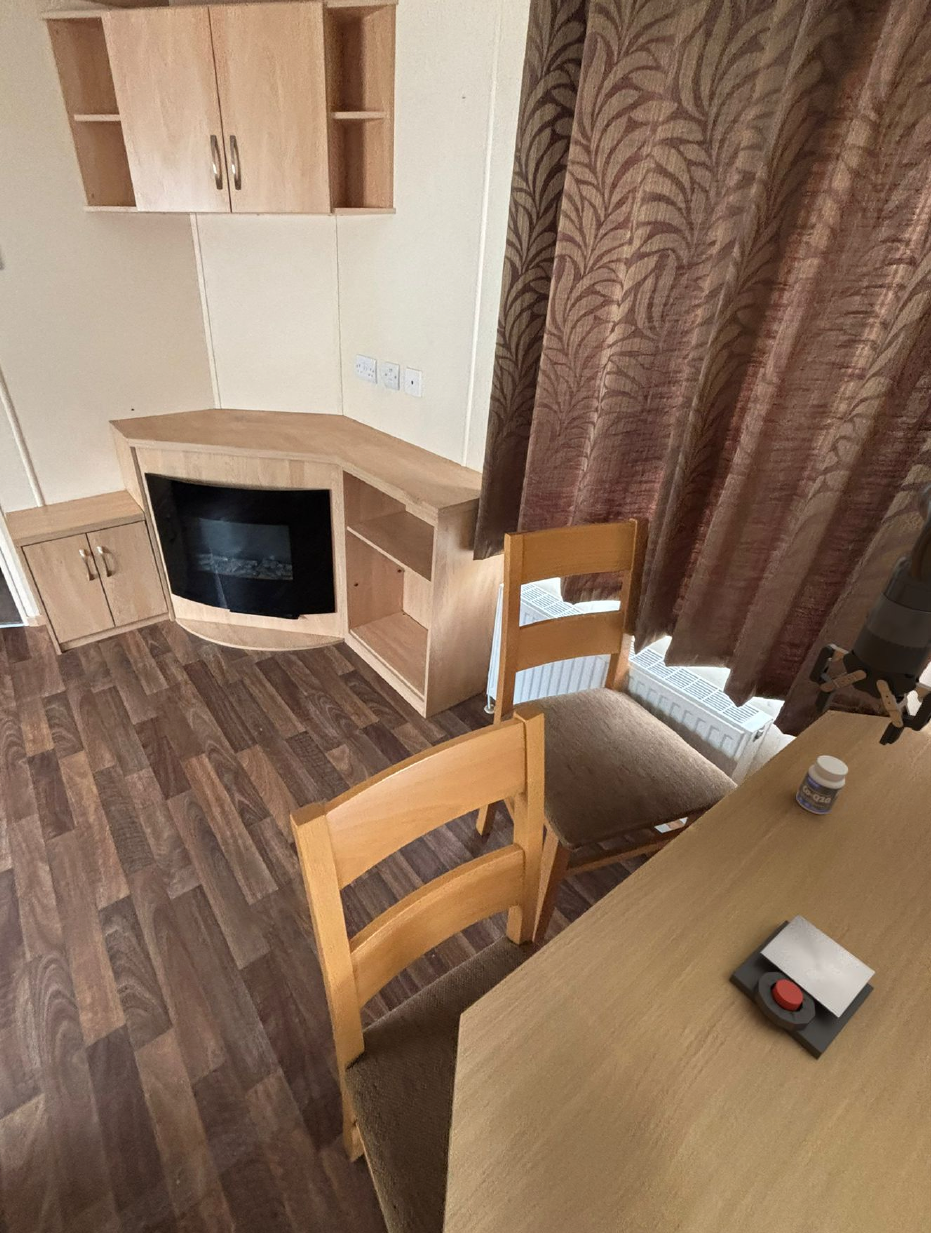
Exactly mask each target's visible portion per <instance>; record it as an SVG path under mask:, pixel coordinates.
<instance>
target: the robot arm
mask: <svg viewBox="0 0 931 1233" xmlns="http://www.w3.org/2000/svg"><path fill="white" fill-rule="evenodd" d="M916 505H917V506H916V508H917V510H918V513H919V515H920V517H921V518H922V520H923V526H922V529H921V531H920V533H919V535H918V537H917V539H916V541H915V543H914V544H913V546H912V547H911V548H910V549H907V550H905V551H904V552H903V553H901V554H900V555H899V556H898V558H897V559H896V560H895V562H894V564H893V566H892V568H891V570H890V572H889V574H888V576H887V579H886V581H885V583H884V585H883V587H882V589H881V591H880V593H879V595H878V596H877V597H876V599H875V600H874V602H873V603H872V605H871V607H870V609H869V610H868V612H867V614H866V616H865V620H864V622H863V625H862V627H861V628H860V631H859V634H857V637H856V640H855V642H854V644H853V646H852V648H851V650H849V651H848V650H846V649H843V648H842V647H840V644H839V643H838V642H836V641H831V642H829V643H828V644H826V645H825V646H823V647H822V648H821V649H820V652H819V654H818V655H817V657H816V660H815V663H814V665H813V667H812V669H811V672H810V673H809V676H808V678H809V681H810V682H812V683H816V684H817V685H819V688H820V690H819V693H818V694H817V697H816V700H815V701H814V706H815V707H816V712H817V713H820V714H824V713H825V712H826V711H828V710H829V708H830V707H831V704H832V703H833V700H834V698H835V696H836V693H837V691H838V689H840V688H842V687H845V686H848V685H850V684H851V685H852V686H853V689H855V690H857V691H859V692H863V693H866V694H868V695H869V696H871V697H872V698H874V699H877V700H878V701H879V700H882V702H883V705H884V708H885V710H886V711H887V712H888V714H889V717H890V722H889V723H888V725H887V726H886V728H885V729H884V732H883V733H882V736H881V737H880V739H879V741H878V744H880V745H882V746H886V745H887V744H888V745H892V744H894V743H895V742H897V741H898V740H899V739H900V738H901V735H902V734H903V732H904V730H905V728H908V729H911V730H912V731H914V732H920V731H921V730H922V729H924V727H926V726H927V725H928V724H929V723H930V721H931V686H929V685H927V684H925V683H922V682H921V681H920V673H921V672H922V670H923V668H924V666H925V664H926V662H927V660H928V658H929V656H930V655H931V480H930V481H929V482H928V483H927V484H926V485H925V486H924V487H923V488H922V489H921V491H920V492H919V494H918V497H917V504H916ZM840 659H841V660H842V663H843V665H844V669H845V671H844V672H843V673H841V674H838V675H835V676H834V677H831V676H829V675H828V673H829V669H830V668H831V666H832V664H833V663H835V662H837V661H838V660H840ZM913 691H914V692H915V693H916V694H917V698H916V699H917V701H918V702H919V703H921V704H920V705H919V707H918V709H917V711H916V713H915V715H914V714H911V712H910V709H909V706H908V704H909V699H908V695H907V694H908V693H911V692H913Z"/></svg>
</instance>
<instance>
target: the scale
mask: <svg viewBox="0 0 931 1233" xmlns="http://www.w3.org/2000/svg"><path fill="white" fill-rule="evenodd" d="M790 922H791V921H788V920H785V921H784V922H783V923H781V924H780V925H779V926H778V928H777V929H775V930H774V931H773V932H772V933H771V935H769V937H768V938H767V939H766V940H764V941H763V942H762V944H761V945H759V946H758V947H757V948H756V949H755V951H753V953H752V954H751V955H749V956H748V958H746V960H744V961H743V962H742V964H740V966H738V967H737V968H736V970H734V972H732V974H731V975H730V977H729V982H730V983H731V984H732V985H734V986H735V987H736V988H737V989H738V990H739V991H740V992H741V993H742V994H744V995H745V996H746V997H747V998H748V999H749V1000H750V1001H751V1002H752V1003H754V1005H755V1006H757V1007H758V1008H759V1009H760V1010H761V1013H762V1014H764V1015H765V1016H766V1017H767V1019H769V1020H770V1021H771V1022H772V1023H773V1024H775V1025H776V1026H778V1027H780V1028H781V1029H782V1030H783V1031H785V1033H787V1034H788V1035H789V1036H790V1037H791V1038H792V1039H793V1040H794V1041H796V1042H797V1043H798V1044H799V1045H800V1046H801V1047H803V1049H805V1050H806V1051H807V1052H808V1054H810V1055H811V1056H812V1057H813V1058H815V1059H816V1060H819V1059H820V1058H821V1056H822V1055H823V1054H824V1053H825V1052H826V1050H827V1049H828V1048H829V1047H830V1045H831V1044H832V1042H833V1041H834V1040H835V1039H836V1038H837V1037H838V1035H839V1034H840V1032H841V1031H842V1030H843V1028H845V1026H846V1025H847V1024H848V1022H849V1021H850V1020H851V1019H852V1018H853V1016H855V1014H856V1012H857V1011H858V1010H859V1008H860V1007H862V1005H863V1004H864V1002H865V1001H866V1000H867V999H868V997H869V996H870V995H871V993H872V992H873V991H874V989H875V987H873V985H871V984H870V983H869V982H867V984H866V985H865V986H864V987H863V989H862V990H861V991H860V992H859V994H858V995H857V996H856V997H855V999H854V1000H853V1001H852V1002H851V1003H850V1005H849V1006H848V1007H847V1008H846V1010H845V1011H844V1012H843V1013H842V1015H841V1016H840V1017H839V1018H838V1019H836V1018H835V1017H834V1016H833V1015H832V1014H830V1013H829V1012H828V1011H827V1010H826V1009H825V1008H823V1007H822V1006H821V1005H820V1004H819V1003H817V1002H816V1001H815V1000H814V999H813V998H811V997H810V996H809V995H808V994H807V993H805V992H804V991H803V990H802V989H801V988H799V987H798V986H797V985H796V984H795V983H794V982H792V981H791V980H790V979H789V978H788V977H786V976H785V975H784V974H783V973H782V972H780V971H779V970H778V969H777V968H776V967H774V966H773V965H772V964H771V963H770V962H768V961H767V960H766V959H765V958H764V957H763V956H761V955H760V952H761V951H762V950H763V949H764V948H765V947H766V946H767V945H768V944H769V943H770V942H771V941H772V940H773V939H774V938H775V937H776V936H777V935H778V934H779V933H780V932H781V931H782V930H783V929H784V928H785V927H786V926H787V925H788V924H789V923H790ZM779 980H788V981H790V982H792V983H794V984H795V985H796V986H797V987H798V988H799V989H800V990H801V992H802V995H803V1001H802V1002H801V1004H800V1005H799V1007H798V1008H797V1009H796V1010H793V1011H791V1010H786V1009H784V1008H782V1007H781V1006H780V1005H779V1004H778V1003H777V1002H776V1001H775V999H774V997H773V994H772V991H773V988H774V987H775V985H776V983H777V982H778V981H779Z"/></svg>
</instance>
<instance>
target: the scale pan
mask: <svg viewBox="0 0 931 1233" xmlns="http://www.w3.org/2000/svg"><path fill="white" fill-rule="evenodd" d="M789 922H790V923H789V924H788V925H787V926H786V927H785V928H784V929H783V930H782V931H781V932H780V933H779V934H778V935H777V936H776V937H775V938H774V939H773V940H772V941H771V942H770V943H769V944H768V945H767V946H766V947H765V948H764V949H763V950H762V951H761V952H760V955H761V956H763V957H764V958H765V959H766V960H767V961H768V962H770V963H771V964H772V965H773V966H774V967H776V968H777V969H778V970H779V971H780V972H782V973H783V974H784V975H785V976H786V977H788V978H789V979H790V980H791V981H792V982H794V983H795V984H796V985H797V986H798V987H799V988H801V989H802V990H803V991H804V992H805V993H807V994H808V995H809V996H810V997H811V998H813V999H814V1000H815V1001H816V1002H817V1003H819V1004H820V1005H821V1006H822V1007H823V1008H825V1009H826V1010H827V1011H828V1012H829V1013H830V1014H832V1015H833V1016H834V1017H835V1018H836V1019H838V1018H839V1017H840V1016H841V1015H842V1013H843V1012H844V1011H845V1010H846V1008H847V1007H848V1006H849V1005H850V1003H851V1002H852V1001H853V1000H854V999H855V997H856V996H857V995H858V994H859V992H860V991H861V990H862V989H863V987H864V986H865V985H866V984H867V983H869V981H871V979H872V978H873V977H874V975H875V974H876V971H875V970H873V969H872V968H871V967H869V966H868V965H866V963H864V962H863V961H861V960H860V959H858V958H857V957H856V956H855V955H854V954H852V953H851V952H849V951H848V950H846V949H845V948H844V947H843V946H841V945H840V944H839V943H837V942H836V941H835V940H833V939H832V938H831V937H829V936H828V935H827V934H825V933H824V932H823V931H822V930H820V929H819V928H818V927H817V926H816V925H814V924H813V923H811V922H810V921H808V920H807V919H806V918H805V917H803V916H802V915H801V914H799V913H798V914H797V915H796V916H794V917H793V919H792V920H791V921H789Z"/></svg>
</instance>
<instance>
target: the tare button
mask: <svg viewBox="0 0 931 1233" xmlns="http://www.w3.org/2000/svg"><path fill="white" fill-rule="evenodd" d="M772 994H773V997H774V999H775V1001H776V1002H777V1003H778V1004H779V1005H780V1006H781V1007H782V1008H784V1009H786V1010H791V1011H793V1010H796V1009H797V1008H798V1007H799V1005H800V1004H801V1002H802V1001H803V995H802V992H801V990H800V989H799V988H798V987H797V986H796V985H795V984H794V983H792V982H790V981H788V980H779V981H778V982H777V983H776V985H775V987H774V988H773V991H772Z"/></svg>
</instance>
